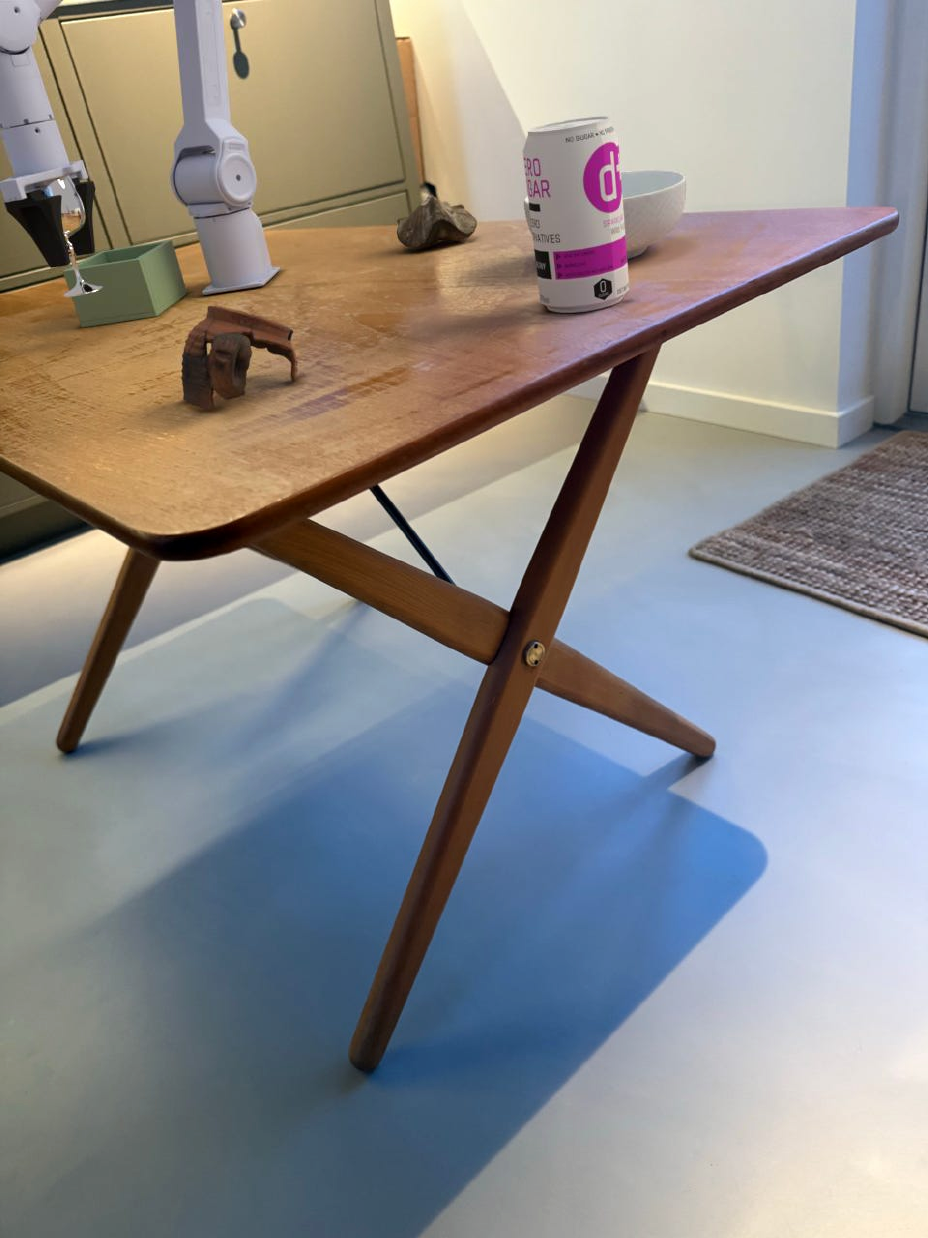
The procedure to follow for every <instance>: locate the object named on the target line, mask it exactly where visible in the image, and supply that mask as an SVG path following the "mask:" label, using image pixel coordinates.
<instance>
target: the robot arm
mask: <svg viewBox="0 0 928 1238" xmlns="http://www.w3.org/2000/svg"><path fill="white" fill-rule="evenodd" d="M63 1H64V0H0V137H1V141H2V144H3V146H4V150H5V152H6V154H7V158H8V160H9V163H10V166H11V169H12V172H13V176H10V177H9V178H7V179H4V180H0V192H1V194H2V197H3V200H4V203H3V204H4V206H5V207H4V208H5V209H6V212H7V213H8V214H9V215H10V216H11V217H12V218H14V220H16V221H17V222H18V224H19V225H20V226H21V227H22V229H24V231H25V232H26V233H27V235H28V236H29V237H30V238H31V240H32V241H33V243H34V244H35V246H36V247H37V249H38V251H39V253H40V254H41V255H42V257H43V259H44V260H45V262H46V263H47V265H48V267H49V268H50V269H55V268H61V267H67V266H69V265H71V261H70V258H69V252H68V248H67V244H66V240H65V236H64V232H63V226H62V217H61V200H62V196H61V195H56V196H50V197H46V195H45V194H44V195H43V194H42V191H41V189H39V188H35V187H36V186H41V185H46V180H50V179H54V178H58V177H62V176H66V175H69V176H70V178H71V179H72V181H73V183H74V185H75V187H76V189H77V191H78V193H79V195H80V197H81V199H82V202H83V205H84V209H85V214H86V220H85V224H84V226H83V228H82V229H81V230H80V231H79V232H78V233H77V234H76V235H74V236H73V237H71V238H70V239H69V241H70V242H71V243H72V245H73V247H74V250H75V257H78V256H79V257H80V256H85V255H86V256H87V255H94V254H96V246H95V235H94V221H93V210H94V209H93V208H94V199H95V194H96V184H95V182H94V180H88V181H83V180H87V179H89V176H88V173H87V169H86V167H85V162H84V160H83V159H79V160H75V161H74V160H73V161H69V157H68V154H67V151H66V148H65V144H64V142H63V139H62V135H61V133H60V130H59V126H58V123H57V120H56V119H55V114H54V111H53V109H52V106H51V103H50V99H49V97H48V94H47V90H46V88H45V84H44V82H43V78H42V75H41V71H40V69H39V66H38V63H37V60H36V57H35V53H34V51H33V47H32V46H34V45H35V44H36V41H37V39H38V29H39V27H40V26H41V25H42V24H43V22H44V21H46V19H47V18H48V17H50V15H51V14H52V13H53V12H54V11H55V10H56V9H57V8H58V7H59V6H60V5H61V3H62V2H63ZM172 5H173V16H174V26H175V29H174V30H175V38H176V49H177V60H178V71H179V72H178V73H179V83H180V85H179V86H180V93H181V94H180V95H181V106H182V107H181V108H182V117H183V118H182V119H183V124H182V127H181V129H180V131H179V133H177V134H178V135H177V137H176V138H175V140H174V142H173V154H174V155H173V163H172V165H171V169H170V173H169V180H170V181H169V183H170V187H171V190H172V193H173V194H174V197H175V198H176V199H177V201H178V202H179V203H180V204H181V205H182V206H184V207H186V208H187V211H188V215H189V216H191V217H193V222H194V227H195V231H196V234H197V237H198V241H199V244H200V249H201V251H202V255H203V259H204V262H205V265H206V270H207V274H208V277H209V280H210V284H209V285H208V286H207V287H205V288H204V289H203V290H201V293H202V295H203V296H205V295H212V294H218V293H219V294H220V293H225V292H232V291H238V290H246V289H252V288H258V287H262V286H265V285H266V284H267V283H268V282H269V281H270V280H271V279H272V278H273V277H274V276H275V275H276V274H277V273H279V272H280V270H281V268H280V266H273V265H272V261H271V257H270V253H269V249H268V245H267V241H266V237H265V232H264V229H263V224H262V222H261V220H260V218H259V216H258V215H257V214H256V213H255V212H254V211H253V210H252V207H253V206H255V203H254V197H255V195H256V192H257V187H258V176H257V171H256V169H255V165H254V164H253V162H252V159H251V155H250V150H249V149H250V148H249V147H250V146H249V140H248V139H247V138H246V137H245V136H243V135H242V134H241V133H240V131H238V130H237V128H235V127H234V126H233V125H232V121H231V120H232V117H231V106H230V91H229V79H228V65H227V52H226V39H225V38H226V37H225V26H224V12H223V0H172ZM82 181H83V182H82Z"/></svg>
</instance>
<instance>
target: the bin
mask: <svg viewBox="0 0 928 1238" xmlns="http://www.w3.org/2000/svg"><path fill="white" fill-rule="evenodd" d="M77 266H78V269H79V272H80V275H81V277H82V279H83V280H84V281H85V282H86V283H88V284H92V285H103V286H104V288H102V289H100V290H98V291H95V292H92V293H88V294H84V295H79V296H73V297H71V300H72V303H73V306H74V309H75V311H76V315H77V317H78V320H79V322H80V323H79V324H80V326H81V328H88V327H89V328H90V327H94V326H101V325H109V324H113V323H116V324H117V323H122V322H129V321H134V320H135V321H136V320H142V319H148V318H155V317H158V316H159V315H161V314H162V313H163V312H164V311H166V310H167V309H169V308H170V307H171V306H173V305H174V304H175V303H177V302H178V301H180V299H182V298H183V297H184V296H186V295H187V294H188V290H187V288H186V284H185V282H184V277H183V274H182V270H181V267H180V264H179V261H178V257H177V254H176V249H175V246H174V244H173V240H171V239H170V240H169V239H168V240H164V241H157V242H150V243H145V244H139V245H131V246H127V247H126V246H125V247H120V248H114V249H107V250H101V251H99V252H97V253H94V254H92V255H91V256H89V257H86V258H85V259H83V260H81V261H79V262H78V263H77ZM62 274H63V277H64V280H65V283H66V286H67V288H68V291H70V290H72V289H73V288H74V287H75V286H76V284H77V278H76V274H75V271H74V268H73V265H72V266H70V267H68V268H66V269H65V270H63V271H62Z"/></svg>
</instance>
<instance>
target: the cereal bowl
mask: <svg viewBox="0 0 928 1238" xmlns="http://www.w3.org/2000/svg"><path fill="white" fill-rule="evenodd" d="M621 183H622V196H623V210H624V223H625V237H626V250H627V260H629V259H632V258H635V257H638V256H640V255H642V254H643V253H645V252H646V249H647V248H648V247H649V246H651V245H653V244H655V243H656V242H658V241H660V240H662V239H664V237H666V236H667V235H668V234H670V233H671V232H672V231H673V230H674V229H675V227H676V226H677V225H678V223H679V221H680V219H681V218H682V215H683V214H684V209H685V205H686V199H687V178H686V176H685V175H684V174H683V173H681V172H679V171H674V170H665V169H646V170H645V169H642V170H629V171H628V170H627V171H621ZM523 210H524V215H525V220H526V225H527V227H528V230H529V232H530V234H531V236H532V237H533V235H532V227H531V218H530V210H529V201H528V195H527V196H525V198H524V199H523Z"/></svg>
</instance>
